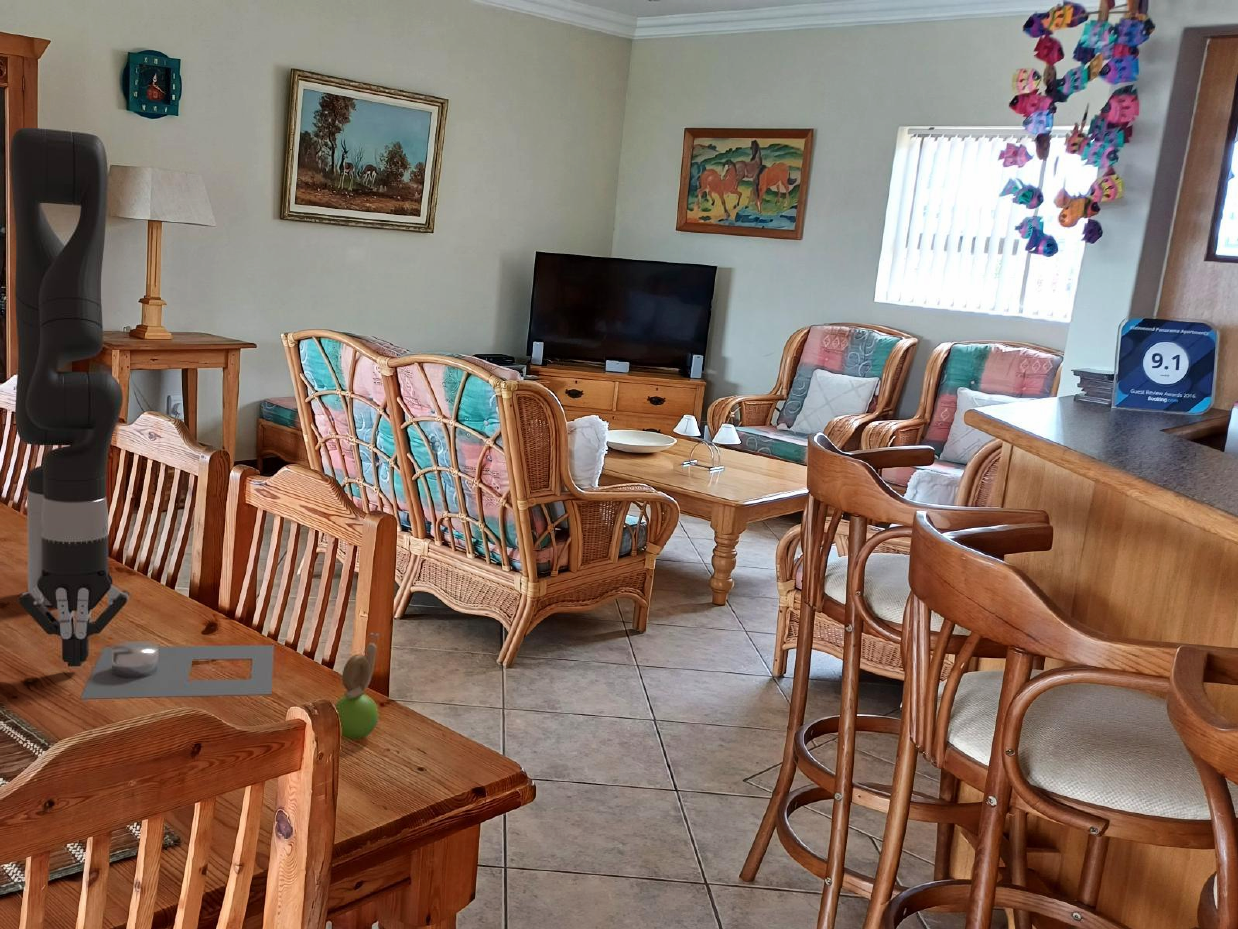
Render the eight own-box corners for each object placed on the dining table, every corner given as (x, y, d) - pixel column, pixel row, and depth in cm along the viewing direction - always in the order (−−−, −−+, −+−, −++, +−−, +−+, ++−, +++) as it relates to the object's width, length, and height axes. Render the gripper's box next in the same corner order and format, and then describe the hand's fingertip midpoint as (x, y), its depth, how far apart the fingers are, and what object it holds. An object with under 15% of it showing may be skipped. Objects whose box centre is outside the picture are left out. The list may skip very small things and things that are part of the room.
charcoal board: (80, 710, 138) (80, 698, 138) (103, 657, 155) (103, 647, 155) (271, 705, 144) (271, 694, 144) (273, 655, 161) (274, 645, 161)
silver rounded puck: (114, 663, 149) (114, 641, 149) (159, 662, 151) (160, 641, 150) (108, 679, 144) (109, 656, 144) (155, 678, 146) (156, 655, 145)
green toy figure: (390, 731, 139) (395, 636, 137) (361, 750, 133) (366, 652, 131) (351, 722, 141) (355, 628, 139) (321, 741, 135) (325, 644, 133)
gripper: (136, 525, 148) (135, 653, 151) (23, 523, 144) (24, 655, 147) (128, 540, 140) (127, 674, 144) (9, 538, 137) (10, 676, 140)
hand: (75, 664), depth 145 cm, fingers closed
